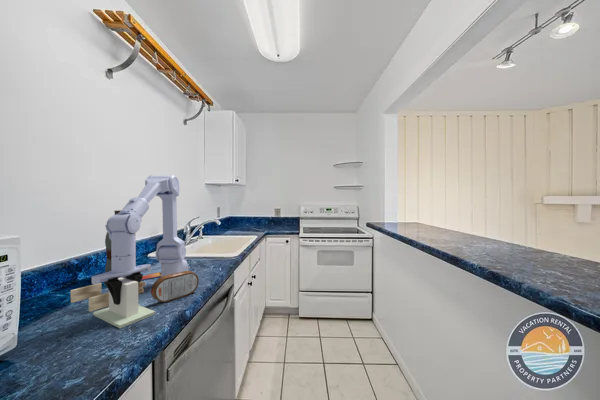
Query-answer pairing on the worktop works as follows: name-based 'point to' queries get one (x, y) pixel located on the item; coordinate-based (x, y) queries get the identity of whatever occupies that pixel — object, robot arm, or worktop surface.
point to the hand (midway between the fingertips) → (124, 301)
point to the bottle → (109, 251)
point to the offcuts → (141, 287)
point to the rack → (91, 296)
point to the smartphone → (151, 276)
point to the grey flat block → (126, 299)
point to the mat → (121, 320)
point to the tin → (174, 286)
